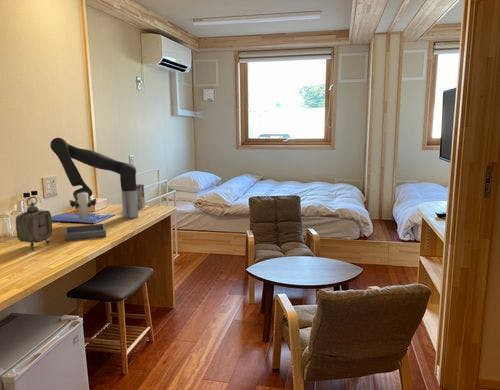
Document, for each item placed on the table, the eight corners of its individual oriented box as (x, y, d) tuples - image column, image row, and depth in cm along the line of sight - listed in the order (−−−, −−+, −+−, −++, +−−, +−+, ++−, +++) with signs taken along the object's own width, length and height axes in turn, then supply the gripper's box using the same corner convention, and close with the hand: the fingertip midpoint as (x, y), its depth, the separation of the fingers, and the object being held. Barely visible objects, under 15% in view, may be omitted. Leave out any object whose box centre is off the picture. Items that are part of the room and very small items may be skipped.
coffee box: (136, 206, 287) (134, 184, 284) (145, 207, 287) (144, 184, 284) (132, 209, 278) (130, 186, 275) (141, 210, 278) (140, 186, 275)
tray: (104, 229, 231) (104, 223, 230) (106, 236, 217) (105, 230, 217) (65, 233, 223) (65, 226, 223) (65, 241, 210) (64, 234, 209)
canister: (89, 215, 222) (87, 192, 219) (89, 218, 217) (87, 194, 214) (78, 216, 220) (77, 193, 217) (78, 219, 215) (77, 194, 212)
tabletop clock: (33, 252, 192) (28, 200, 188) (16, 250, 194) (11, 199, 189) (53, 243, 206) (49, 194, 201) (37, 241, 208) (33, 193, 203)
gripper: (68, 193, 226) (67, 199, 211) (96, 192, 232) (97, 197, 217) (69, 206, 228) (69, 213, 213) (97, 204, 233) (98, 211, 218)
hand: (83, 205), depth 215 cm, fingers closed on canister, 5 cm apart
